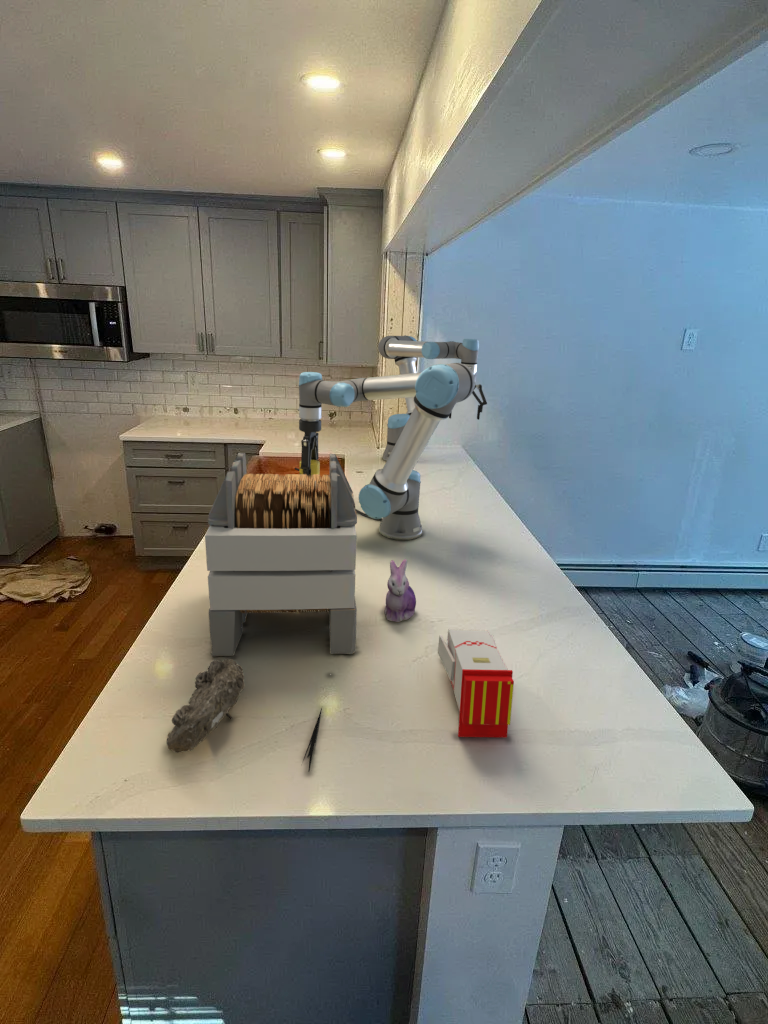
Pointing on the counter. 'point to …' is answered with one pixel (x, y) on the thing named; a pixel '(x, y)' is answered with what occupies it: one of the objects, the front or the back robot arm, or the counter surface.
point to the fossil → (206, 705)
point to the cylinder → (312, 467)
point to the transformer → (281, 552)
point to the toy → (478, 682)
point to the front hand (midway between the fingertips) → (309, 483)
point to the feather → (313, 740)
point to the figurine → (399, 594)
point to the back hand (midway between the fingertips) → (463, 418)
